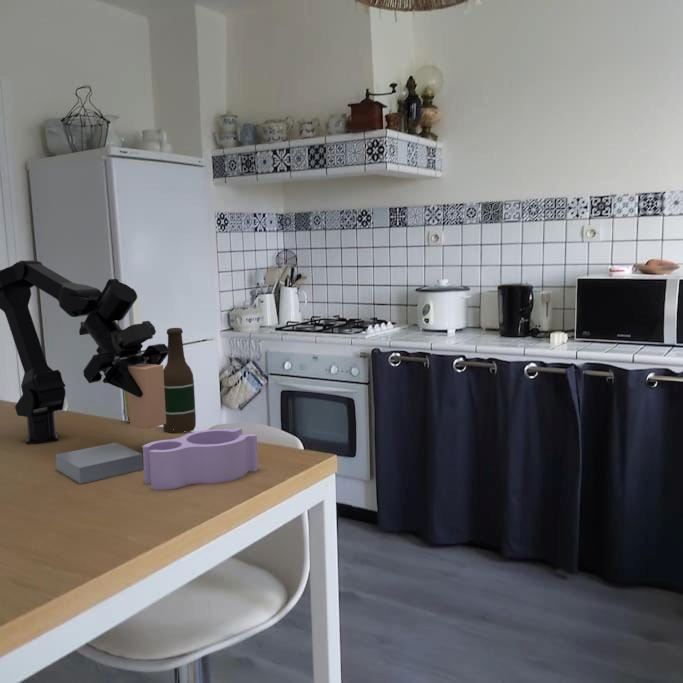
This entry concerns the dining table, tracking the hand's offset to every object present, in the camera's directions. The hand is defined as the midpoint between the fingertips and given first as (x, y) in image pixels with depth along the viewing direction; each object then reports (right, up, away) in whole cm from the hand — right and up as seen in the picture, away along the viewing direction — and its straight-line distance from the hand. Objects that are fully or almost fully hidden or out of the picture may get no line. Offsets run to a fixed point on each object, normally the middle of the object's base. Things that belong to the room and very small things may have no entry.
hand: (151, 393), depth 137 cm
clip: (+12, -15, -10) cm, 21 cm away
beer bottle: (0, -11, +25) cm, 27 cm away
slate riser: (-9, -14, -5) cm, 17 cm away
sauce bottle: (-12, -10, +34) cm, 38 cm away
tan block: (-1, -7, +2) cm, 7 cm away
